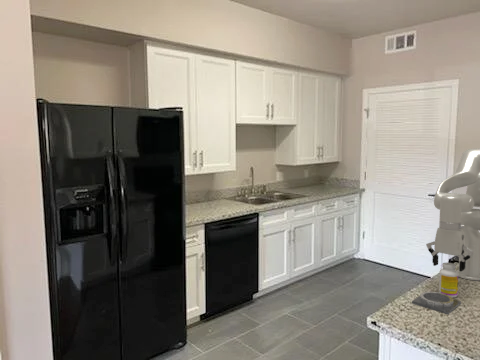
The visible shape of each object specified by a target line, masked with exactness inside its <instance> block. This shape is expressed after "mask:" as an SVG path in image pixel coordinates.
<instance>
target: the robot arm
mask: <svg viewBox="0 0 480 360" xmlns="http://www.w3.org/2000/svg"><path fill="white" fill-rule="evenodd" d="M466 186H467V187H466ZM464 187H466V192H465V193H456V192H451V191H454V190H456V189H457V190H458V189H460V188H464ZM433 205H434V208H435V209H437V210H439V223H438V227H437V229H436V233H435V237H434V238H435V239H434V241H431V242H428V243H426V248H427V250H428V251H429V253H430V254H431V256H432V260H431V261H432V265H433V266H434V267H435V266H437V265H439V254H445V255H449V256H454V257H455V256H456V257H458V269H455V271H457V272H458V278H461V279H465V280H469V281H480V148H470V149H466V150H464V151H463V153H462V154H461V156H460V160H459V163H458V165H457V168H456V171H455V173H454V174H451V175H450V176H448V177H447V178H445V179H444V180H442V182H441V183H440V184H439V185H438V186H437V189H436V191H435V194H434V198H433ZM475 207H476V208H475ZM433 245H434V249H433Z"/></svg>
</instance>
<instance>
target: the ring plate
mask: <svg viewBox="0 0 480 360" xmlns="http://www.w3.org/2000/svg"><path fill="white" fill-rule="evenodd" d="M411 304H413V305H416V306H419V307H422V308H425V309H429V310H432V311H436V312H438V313H443V314H445V315H450V314H451V313H452V312H454V310H456V309H457V308H458V307H459V306H460V305H461V304H462V300H458V299H455V298H452V297H450V296H448V295H446V294H442V293H439V291H437V292H436V291H424V292H422V293H420V295H419V296H417V297H416V298H415V299H412V300H411Z"/></svg>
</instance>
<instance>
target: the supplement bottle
mask: <svg viewBox="0 0 480 360" xmlns="http://www.w3.org/2000/svg"><path fill="white" fill-rule="evenodd" d="M441 266H442V268H441V269H440V270H439V275H438V276H439V279H438V280H439V281H438V283H439V285H438V292H439V293H442V294H446V295H448V296H450V297H452V299H455V298H458V295H459V294H458V293H459V277H458V272H457V271H456V269H457V268H456V264H455V263H452V262H443V263H442V265H441Z"/></svg>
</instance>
